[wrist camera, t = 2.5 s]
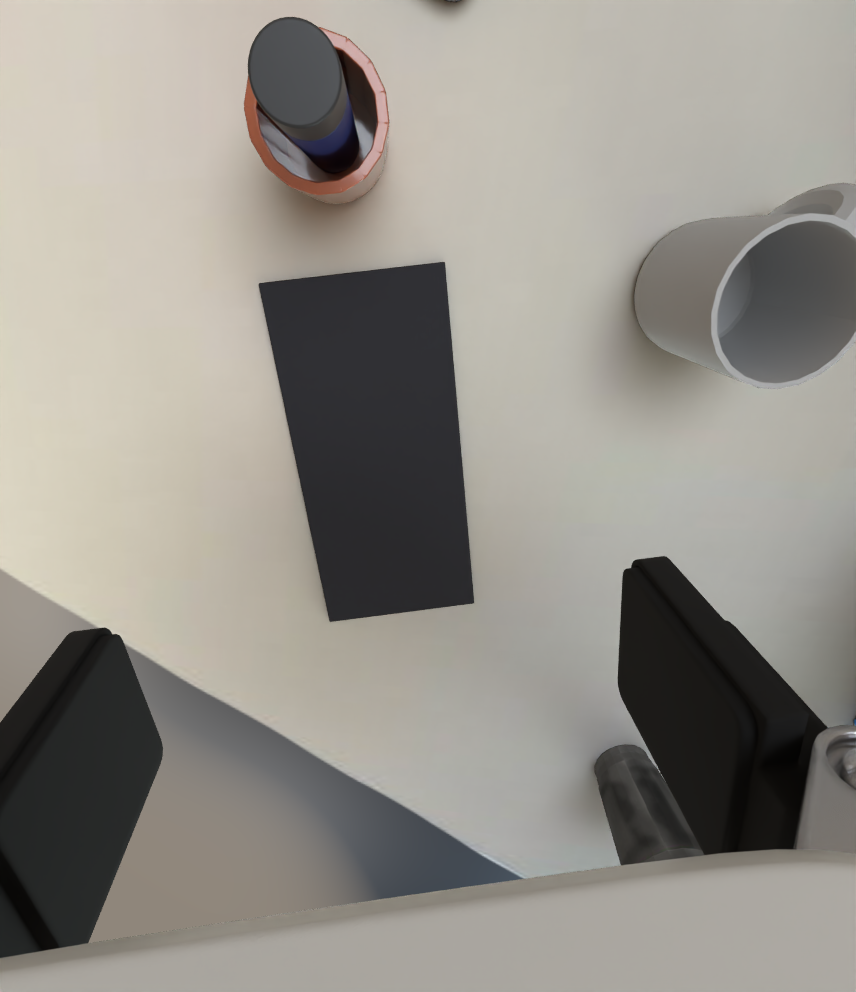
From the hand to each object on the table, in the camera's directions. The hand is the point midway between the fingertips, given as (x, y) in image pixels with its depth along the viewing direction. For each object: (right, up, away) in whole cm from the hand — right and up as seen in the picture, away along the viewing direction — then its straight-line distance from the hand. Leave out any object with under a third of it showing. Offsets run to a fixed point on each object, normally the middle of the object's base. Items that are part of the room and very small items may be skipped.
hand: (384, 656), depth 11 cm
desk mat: (-2, +5, +25) cm, 26 cm away
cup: (+17, +16, +22) cm, 32 cm away
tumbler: (-4, +21, +18) cm, 28 cm away
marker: (-4, +20, +18) cm, 27 cm away
